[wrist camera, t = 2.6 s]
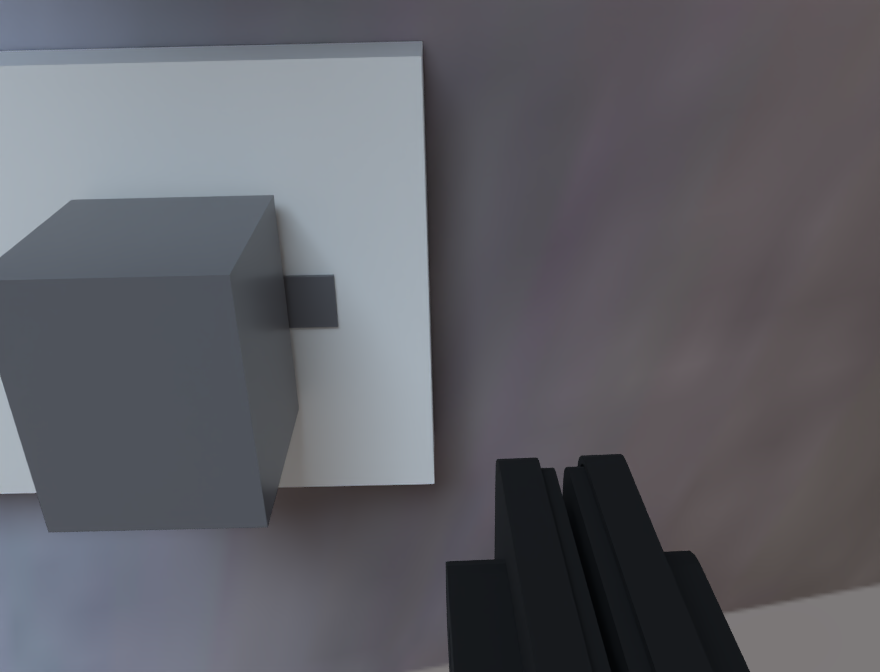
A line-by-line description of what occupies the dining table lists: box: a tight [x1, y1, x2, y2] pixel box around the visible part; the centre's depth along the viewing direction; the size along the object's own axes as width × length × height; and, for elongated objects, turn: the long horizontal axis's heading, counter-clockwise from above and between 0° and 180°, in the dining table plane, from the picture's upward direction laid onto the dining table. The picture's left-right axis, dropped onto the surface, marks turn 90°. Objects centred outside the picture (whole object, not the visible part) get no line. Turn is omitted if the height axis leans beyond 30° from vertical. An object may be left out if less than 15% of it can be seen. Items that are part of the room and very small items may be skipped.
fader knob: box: [0, 195, 299, 532], centre depth 16 cm, size 4×5×4 cm
